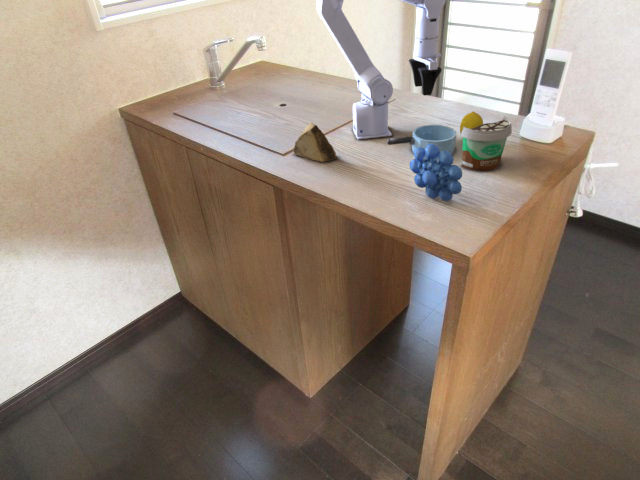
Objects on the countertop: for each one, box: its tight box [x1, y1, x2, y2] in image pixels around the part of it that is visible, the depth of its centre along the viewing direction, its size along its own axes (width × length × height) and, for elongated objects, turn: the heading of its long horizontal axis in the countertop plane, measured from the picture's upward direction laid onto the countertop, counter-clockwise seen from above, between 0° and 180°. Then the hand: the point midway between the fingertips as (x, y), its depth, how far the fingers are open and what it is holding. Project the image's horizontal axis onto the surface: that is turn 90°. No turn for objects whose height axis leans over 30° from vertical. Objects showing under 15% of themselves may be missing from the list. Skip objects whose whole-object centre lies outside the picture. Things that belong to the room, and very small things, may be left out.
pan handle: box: [386, 136, 415, 146], centre depth 111 cm, size 7×2×2 cm, turn 96°
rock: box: [293, 122, 338, 163], centre depth 113 cm, size 11×9×10 cm
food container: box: [460, 116, 513, 172], centre depth 101 cm, size 12×6×10 cm, turn 114°
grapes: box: [408, 143, 463, 202], centre depth 90 cm, size 12×7×12 cm, turn 52°
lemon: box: [459, 111, 484, 134], centre depth 113 cm, size 6×6×8 cm
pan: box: [411, 124, 457, 155], centre depth 112 cm, size 10×10×4 cm
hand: (422, 90), depth 122 cm, fingers open, 7 cm apart
